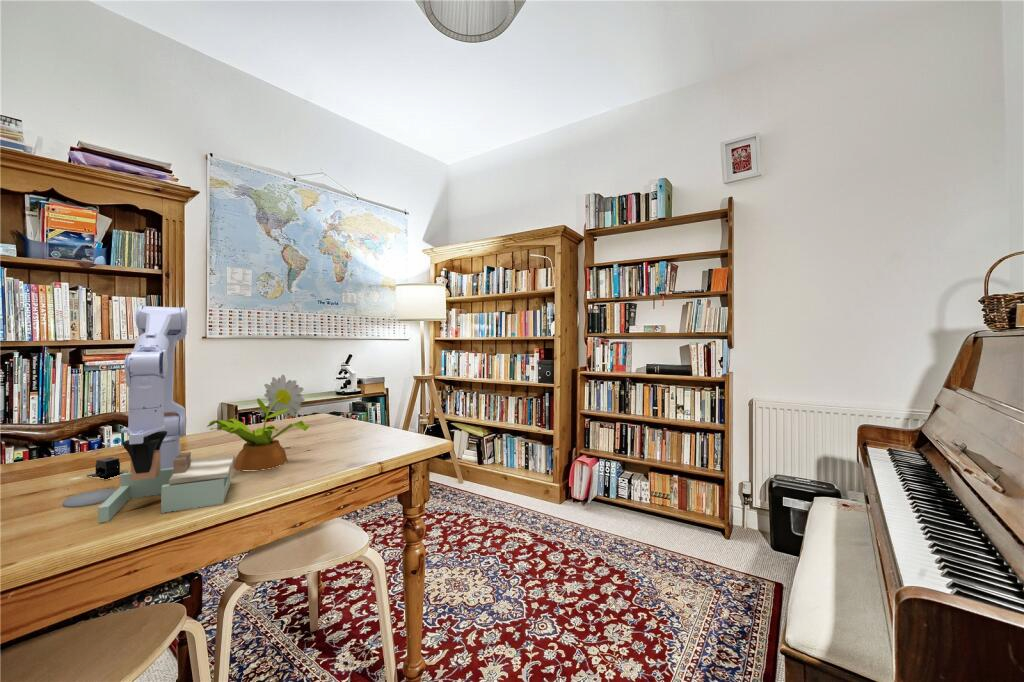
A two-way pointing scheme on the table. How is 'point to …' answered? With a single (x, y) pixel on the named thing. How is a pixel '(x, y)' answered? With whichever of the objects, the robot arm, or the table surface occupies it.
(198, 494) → the sage green u-shaped tray
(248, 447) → the decorative plant
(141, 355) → the robot arm
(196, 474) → the lid
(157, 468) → the block
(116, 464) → the black small block
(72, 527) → the table surface
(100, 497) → the mat
